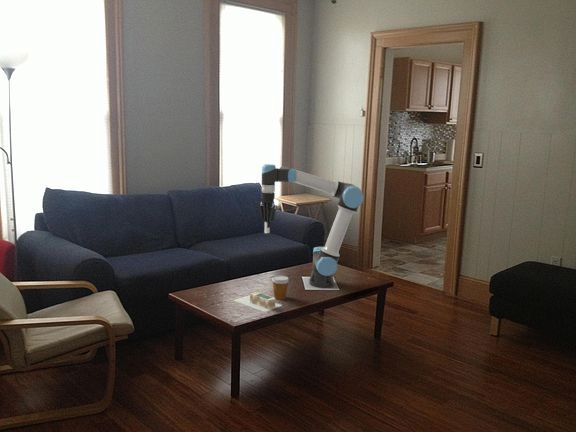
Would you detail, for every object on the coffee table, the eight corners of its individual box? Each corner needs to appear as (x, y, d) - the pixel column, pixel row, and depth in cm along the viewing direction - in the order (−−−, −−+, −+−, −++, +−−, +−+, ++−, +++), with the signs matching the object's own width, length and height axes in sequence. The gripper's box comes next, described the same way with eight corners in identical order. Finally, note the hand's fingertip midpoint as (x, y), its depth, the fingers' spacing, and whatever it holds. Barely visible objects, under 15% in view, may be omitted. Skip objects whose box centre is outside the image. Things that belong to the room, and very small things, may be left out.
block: (250, 293, 286) (268, 300, 277) (256, 291, 290) (275, 297, 281) (249, 302, 287) (268, 309, 278) (256, 300, 291) (275, 307, 282)
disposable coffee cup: (289, 301, 293) (290, 280, 290) (272, 301, 291) (273, 280, 289) (287, 295, 302) (287, 275, 300) (270, 295, 300) (270, 275, 298)
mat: (232, 301, 290) (232, 300, 290) (251, 295, 300) (251, 294, 300) (264, 312, 274) (264, 311, 274) (282, 305, 285) (282, 305, 284)
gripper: (255, 191, 300) (254, 231, 304) (271, 194, 291) (270, 235, 296) (264, 190, 305) (263, 230, 310) (281, 192, 297) (279, 233, 301)
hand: (266, 232), depth 303 cm, fingers closed
